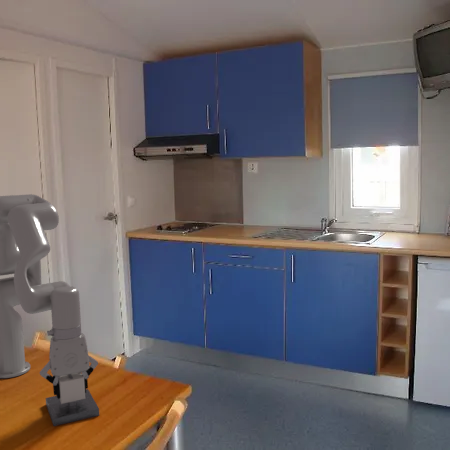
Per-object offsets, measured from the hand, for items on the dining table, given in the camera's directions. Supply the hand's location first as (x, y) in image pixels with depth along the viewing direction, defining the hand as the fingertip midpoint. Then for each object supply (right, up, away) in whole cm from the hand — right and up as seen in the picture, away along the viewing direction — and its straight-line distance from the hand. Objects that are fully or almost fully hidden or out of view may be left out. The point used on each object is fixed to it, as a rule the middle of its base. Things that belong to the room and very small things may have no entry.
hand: (71, 393), depth 146 cm
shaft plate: (0, -5, +1) cm, 5 cm away
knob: (0, -1, 0) cm, 1 cm away
